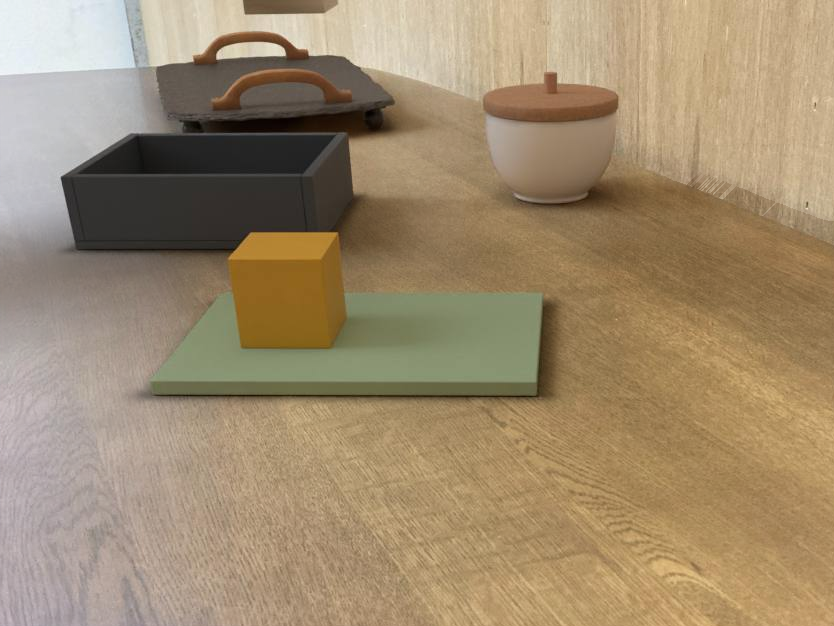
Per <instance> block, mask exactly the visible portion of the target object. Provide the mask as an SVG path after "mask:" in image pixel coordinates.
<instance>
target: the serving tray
mask: <svg viewBox="0 0 834 626" xmlns="http://www.w3.org/2000/svg"><path fill="white" fill-rule="evenodd" d="M244 43H245V44H246V43H268V44H269V43H270V44H275V45H277V46H280V47H282V48H283V49H284V53H285V54H284V55H272V56H271V55H268V56H244V57H243V56H242V57H231V58H230V57H227V58H219V59H218V58H217V54H218V53H219V51H220V50H221V49H223V48H225V47H228V46H232V45H236V44H244ZM192 59H193V61H189V62H188V61H187V62H175V63H166V64H164V65H159V66H156V68H155V78H156V83H157V84H158V85H157V88H158V93H159V96H160V97H159V99H160V100H161V105H162V110H163V115H164V118H165V119H166V120H168V121H179V123H182V125H181V128H180V129H181V130H180V131H181V132H180V133H205V130H204V127H203V125H202V123H207V122H217V121H219V122H224V121H237V122H239V121H240V122H242V121H251V120H266V119H268V120H270V119H271V120H272V119H273V120H274V119H275V120H277V119H279V120H280V119H289V118H302V117H303V118H304V117H314V116H322V115H324V116H326V115H327V116H328V115H337V114H343V113H344V114H347V113H351V112H352V113H353V112H364V114H363V121H364V125H365V126H366V127H367V129H368V130H369V131H381V130H382V129H383V128H382V127H383V126H384V124H385V114H384V112H383V111H382V109H386V108H387V107H390V106H391V107H392V106H394V105H396V101H395V98H394V97H393V95H392V94H390V93H389V92H388V91H387V90H385V89H384V88H383V86H382V85H380V84H379V83H377V82H375V81H373V80H372V77H371V76H370V75H369V74H368V73H366V72H365V71H363V70H362V69H361V67H360V66H358V65H356V64H355V63H353V62H351V60H350V59H349V58H347V57H346V56H344V55H333V54H325V55H324V54H322V55H321V54H320V55H310V53H309V50H308V48H306V49H304V48H300V49H299V48H297V47H296V46H295V45H293V43H292V42H291V41H289V40H288V39H286V38H285V37H284V36H282V35H281V34H279V33H275V32H271V31H263V30H251V31H249V30H248V31H236V32H231V33H225V34H223V35H220V36H218V37H216V38H215V39H214V40H213V41H212V42H211V43H209V45H208V47H207V48H206V49H205V50H204V52H203V53H201V54H195V55H192Z"/></svg>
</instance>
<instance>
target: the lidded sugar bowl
mask: <svg viewBox="0 0 834 626" xmlns="http://www.w3.org/2000/svg"><path fill="white" fill-rule="evenodd" d="M482 106H483V111H484V124H485V125H484V126H485V136H486V142H487V149H488V153H489V157H490V161H491V163H492V165H493V168H494V170H495V172H496V173H497V175H498V177H499V178H500V179H501V180H502V182H503V183H504V184H505V185H506V186H507V187H508V188H509V189H510V190H512V191H513V195H514V197H515V198H516V199H518V200H520V201H523V202H527V203H535V204H566V203H572V202H577V201H580V200H583V199H585V198H587V197H588V195H589V191H590V190H591V189H592V188H593V187H594V186H595V185H596V184H597V183H598V182H599V181H600V180H601V178H602V177H603V176H604V174H605V173H606V170H607V169H608V167H609V164H610V162H611V160H612V156H613V153H614V149H615V148H614V147H615V141H616V135H617V134H616V133H617V111H618V110H619V95H618V93H617V92H616V91H614V90H611V89H608V88H605V87H600V86H596V85H589V84H581V83H580V84H579V83H562V82H561V83H559V82H558V72H557V71H544V72H543V83H529V84H528V83H527V84H526V83H525V84H517V85H516V84H515V85H509V86H504V87H500V88H496V89H493V90H490V91H488V92H486V93H485V94H484V95H483V97H482Z"/></svg>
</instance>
